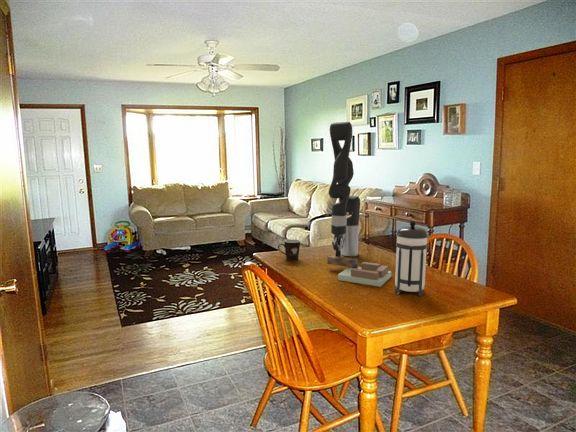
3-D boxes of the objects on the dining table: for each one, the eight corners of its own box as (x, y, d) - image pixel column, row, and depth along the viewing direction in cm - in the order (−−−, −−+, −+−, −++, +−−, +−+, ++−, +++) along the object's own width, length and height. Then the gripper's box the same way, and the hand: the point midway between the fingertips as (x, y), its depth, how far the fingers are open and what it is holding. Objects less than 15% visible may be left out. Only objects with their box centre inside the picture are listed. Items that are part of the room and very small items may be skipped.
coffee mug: (300, 257, 239) (300, 239, 237) (299, 261, 230) (299, 242, 229) (279, 256, 240) (279, 238, 238) (277, 260, 232) (277, 242, 230)
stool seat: (350, 270, 213) (351, 259, 213) (391, 276, 204) (391, 265, 203) (337, 279, 199) (338, 268, 198) (380, 286, 189) (381, 274, 188)
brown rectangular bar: (358, 266, 211) (358, 259, 210) (356, 268, 208) (356, 260, 207) (329, 262, 218) (330, 255, 217) (327, 263, 215) (327, 257, 214)
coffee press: (382, 288, 187) (384, 219, 182) (412, 284, 193) (415, 217, 188) (408, 301, 171) (411, 226, 167) (439, 296, 178) (444, 223, 173)
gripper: (336, 221, 225) (335, 254, 228) (327, 225, 213) (326, 259, 216) (350, 222, 222) (349, 255, 224) (341, 226, 210) (340, 261, 213)
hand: (338, 257), depth 220 cm, fingers closed
